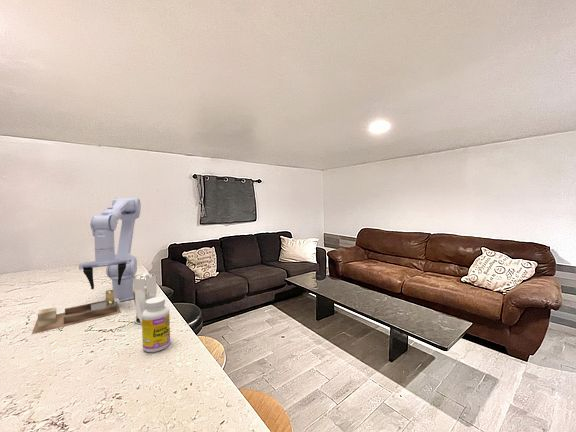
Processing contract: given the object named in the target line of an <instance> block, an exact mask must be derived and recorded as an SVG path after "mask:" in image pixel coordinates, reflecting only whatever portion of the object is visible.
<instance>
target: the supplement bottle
mask: <svg viewBox="0 0 576 432" xmlns="http://www.w3.org/2000/svg"><path fill="white" fill-rule="evenodd" d="M165 304H166V298H165V297H163V296H156V297H154V298H150V299H148V300H146V307H147V309H146V310H145V311H144V312H143V313H142V324H141V330H142V331H141V332H142V333H141V334H142V350H143V351H144V352H147V353H156V352H159V351H162V350H164V349H166V348H167V347H168V346H169V345H170V343H171V326H170V320H171V319H170V309H169V307H168V306H166V305H165Z"/></svg>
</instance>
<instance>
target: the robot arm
mask: <svg viewBox="0 0 576 432" xmlns="http://www.w3.org/2000/svg"><path fill="white" fill-rule="evenodd" d="M141 203H142V202H141V199H140V198H139V197H118V198H117V197H115V198H114V197H113V199H112V202H111V206H109V205H108V206H107V207H106V209H104V210H103V211H102V212H101V213H100V214H96V215H95V216H92V217H91V218H90V219H91V220H90V222H89V224H90V228H91V232H92V236H93V237H94V238H93V239H94V258H95V259H94V260H93V261H88V262H80V263H78V270H82V272H83V274H84V275H85V277H86V279H87V281H88V282H89V285H90V290H94V289H95V284H94V283H95V282H94V268H103V267H106V269H105V274H106V276H107V277H108V278H109V279H110V280H112V281H111V284H112V287H111V288H112V290H114V299H118V301H119V302H120V303H121V302H125V301H130V300H134V298H133V277H135V276H138V275H139V274H137V272H138V260H137V258H136V257H135V256H134V255H132V254H131V251H132V246H133V245H132V244H133V239H134V238H133V237H134V236H133V235H134V231H135V229H134V228H135V224H136V220H137V219H139V218H140V215H141V207H142V206H141ZM119 220H120V221H121V227H120V233H119V240H118V247H117V252H116V251H115V231H116V229H117V225H118V222H119ZM115 253H116V254H115ZM136 274H137V275H136Z"/></svg>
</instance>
